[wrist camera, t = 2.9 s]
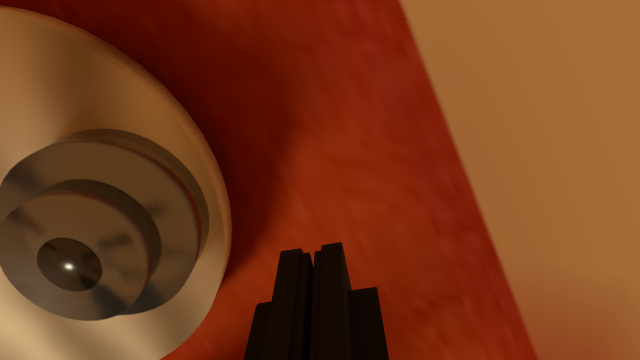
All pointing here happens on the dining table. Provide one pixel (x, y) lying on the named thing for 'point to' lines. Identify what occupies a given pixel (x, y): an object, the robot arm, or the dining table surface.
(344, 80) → the dining table surface
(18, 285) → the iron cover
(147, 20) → the dining table surface
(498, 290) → the dining table surface
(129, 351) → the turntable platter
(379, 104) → the dining table surface
